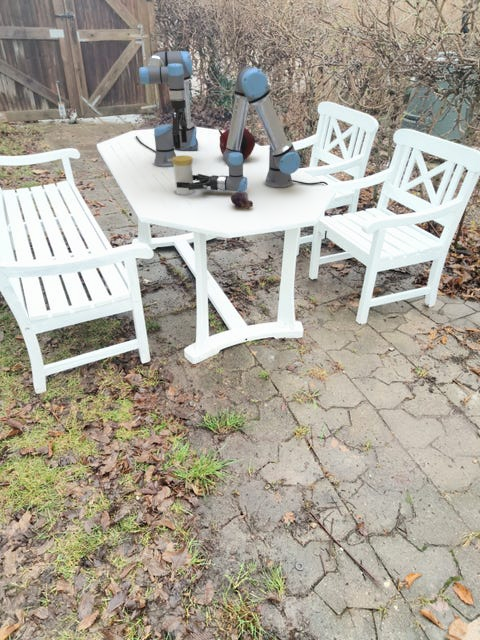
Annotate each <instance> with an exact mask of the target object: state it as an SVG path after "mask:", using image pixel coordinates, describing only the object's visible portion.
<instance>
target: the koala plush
mask: <svg viewBox="0 0 480 640" xmlns="http://www.w3.org/2000/svg"><path fill="white" fill-rule="evenodd" d="M175 149H176V150H179V151H197V150H198V149H199V141H198V138H197V137H196V144H195V145H194V146H189V147H181V148H175Z"/></svg>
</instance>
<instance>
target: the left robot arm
mask: <svg viewBox="0 0 480 640" xmlns="http://www.w3.org/2000/svg"><path fill="white" fill-rule="evenodd" d="M193 74H194V69H193V62H192V57H191V54H190V52H189V51H186V50H170V51H169V50H167V51H165V50H163V51H157V52H156V53H154V54H152V55H151V56H150V57H148V59H147V61H146V66H141V67H139V70H138V76H139V81H140V84H142V85H165V84H166V85H168V95H169V99H170V102H169V103H170V108H171V109H172V110H174V112H172V124H168V123H166V124H162V125H158V126H156V127H155V128H154V129H153V133H154V134H153V136H154V142H155V143H154V145H155V149H152V148H151V147H149V146H148V145H146V144H144V143H143V142H142V141H141V140H140V139H139V137H138V136H137V135H135V138H136V139H137V141H138V142H139V143H140V144H141V145H142V146H144V147H146V148H147V149H149V150H151V151H152V152H154V153H155V155H154V165H155V166H157V167H163V168H164V167H165V168H167V167H168V168H169V167H174V165H173V163H172V158H173V157H176V156H177V153H176V151H175V149H176V148H181V147H189V146H194V145H195V144H196V138H197V126H195V123H194V122H193V121H192V113H191V98H190V82H189V81H190V80H191V78H192V75H193Z"/></svg>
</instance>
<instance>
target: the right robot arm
mask: <svg viewBox="0 0 480 640" xmlns="http://www.w3.org/2000/svg"><path fill="white" fill-rule="evenodd" d="M269 87H270V86H269V83H268V77H267V76H266V74H265V73H264V72H263V70H262V69H259V68H256V67H253V66H250V65H249V66H248V65H247V66H244V67H242V68H241V69H240V70H239V71H238V73H237V76H236V80H235V85H234V91H233V95H234V103H233V108H232V112H231V113H232V114H231V119H230V124H229V128H228V129H229V135H228V140H227V145H226V151H225V152H224V153H223V154H222V159H223V162H224V163H225V165H227V168H228V175H206V174H201V173H197V174H193V181H195V182H193V183H189V182H188V183H184V182H176V183H177V188H188V189H189V190H194V191H195V190H206V189H208V187H209V188H210V190H212V191H223V192H228V191H230V192H239V191H244V192H247V189H248V177H247V176H244V160H243V155H242V154H241V153H239V151H240V146H241V141H242V136H243V131H244V128H245V126H246V122H247V116H248V112H249V107H250V105H251V106H253V108H254V110H255V113H256V115H257V117H258V119H259V121H260V124H261V126H262V128H263V130H264V133H265V135H266V138H267V140H268V142H269V143H270V144H269V148H268V149H269V153H268V154H269V155H268V158H269V159H268V171H267V175H266V176H265V177H266V178H265V182H264V183H265V185H266V186H268V187H271V188H278V189H279V188H288V187H290V186H292V185H293V183H297V184H302V185H307V186H308V185H310V186H311V185H320V184H324V185H326V186H329V184H328V183H327V182H326V181H317V182H304V181H301V180H294V179H293V178H292V174H294V173H295V172H297V171H298V170H299V168H300V167H301V161H302V159H301V157H300V155H299V153H297V152H296V149H295V147H294V144H293V142H292V141H289V140H288V138H287V136H286V133H285V131H284V129H283V126H282V124H281V121H280V120H279V117H278V114H277V112H276V110H275V107H274V105H273V102H272V100H271V98H270V95H271V90H270V88H269ZM327 234H328V230H324V240H327Z"/></svg>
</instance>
